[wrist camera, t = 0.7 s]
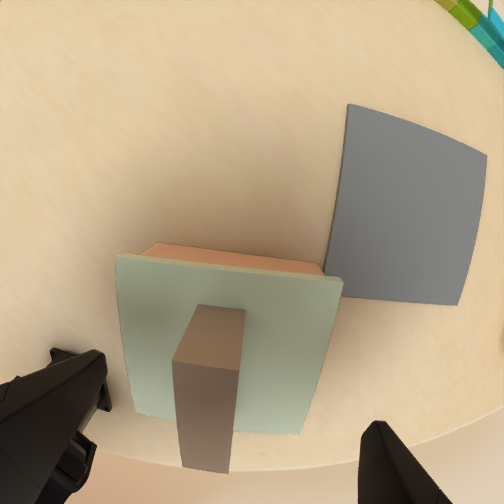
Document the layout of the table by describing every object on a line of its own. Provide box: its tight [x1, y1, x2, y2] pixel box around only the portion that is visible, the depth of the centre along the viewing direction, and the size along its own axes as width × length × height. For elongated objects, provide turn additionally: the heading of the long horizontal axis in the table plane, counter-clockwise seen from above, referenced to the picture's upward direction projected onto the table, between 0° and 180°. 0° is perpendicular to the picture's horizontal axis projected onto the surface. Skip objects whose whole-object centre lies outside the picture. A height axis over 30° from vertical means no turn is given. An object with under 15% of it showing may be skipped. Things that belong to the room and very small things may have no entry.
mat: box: [323, 104, 487, 306], centre depth 17 cm, size 13×13×1 cm
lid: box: [115, 253, 344, 474], centre depth 13 cm, size 12×12×6 cm
